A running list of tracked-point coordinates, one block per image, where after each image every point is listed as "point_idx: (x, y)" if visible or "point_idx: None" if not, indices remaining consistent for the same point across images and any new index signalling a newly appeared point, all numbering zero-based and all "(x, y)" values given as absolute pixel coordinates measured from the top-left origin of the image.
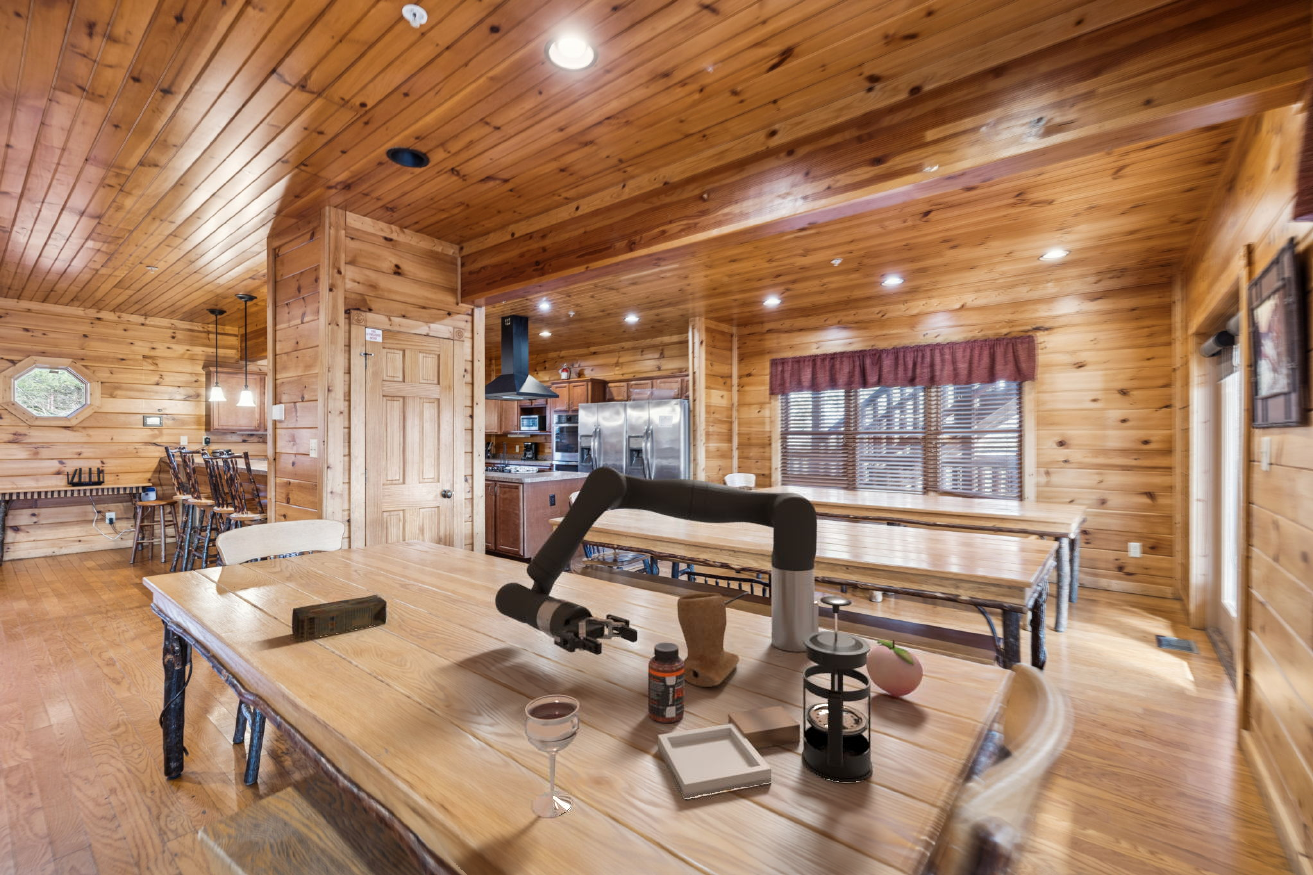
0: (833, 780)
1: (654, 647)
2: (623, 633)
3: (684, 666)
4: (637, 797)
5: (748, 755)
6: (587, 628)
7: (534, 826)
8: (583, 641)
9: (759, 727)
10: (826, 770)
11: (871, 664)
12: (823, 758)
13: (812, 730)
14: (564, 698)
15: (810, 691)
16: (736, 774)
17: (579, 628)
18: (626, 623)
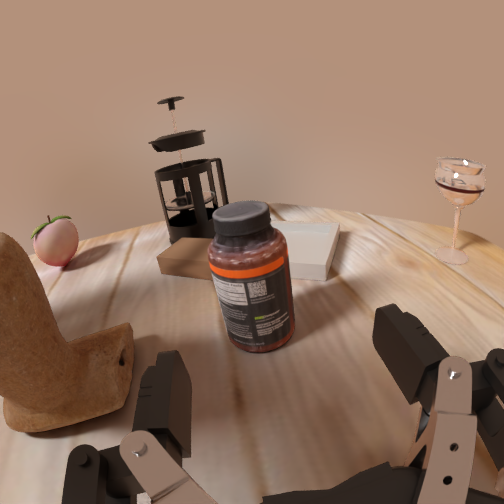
0: None
1: (264, 211)
2: (182, 428)
3: (110, 379)
4: (377, 244)
5: None
6: (398, 491)
7: (461, 244)
8: (447, 353)
9: None
10: None
11: (63, 237)
12: None
13: (185, 231)
14: (453, 167)
15: (209, 168)
16: (291, 221)
17: (472, 431)
18: (102, 454)
